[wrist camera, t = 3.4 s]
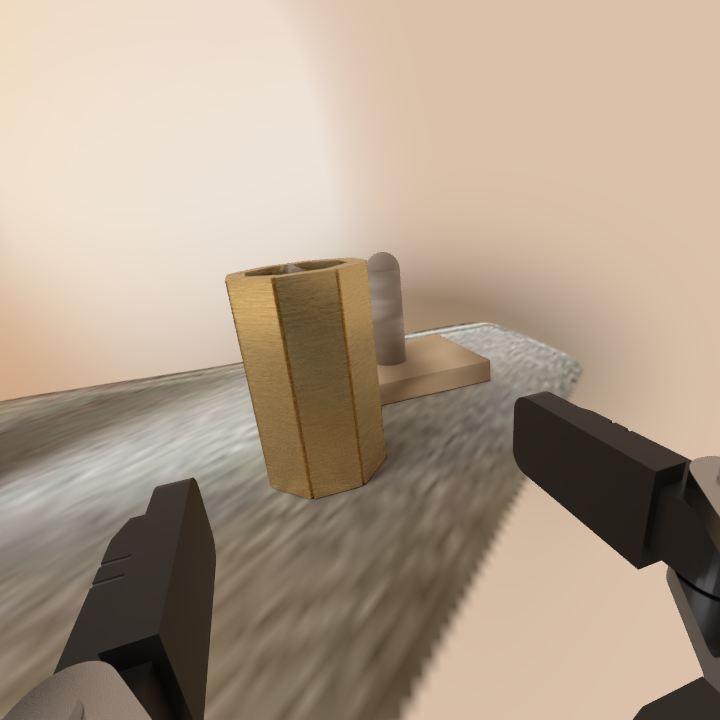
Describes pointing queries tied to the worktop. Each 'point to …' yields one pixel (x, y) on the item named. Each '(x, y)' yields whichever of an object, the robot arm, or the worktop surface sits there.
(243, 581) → the worktop surface
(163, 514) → the robot arm
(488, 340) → the worktop surface
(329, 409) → the sleeve
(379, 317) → the shaft base
